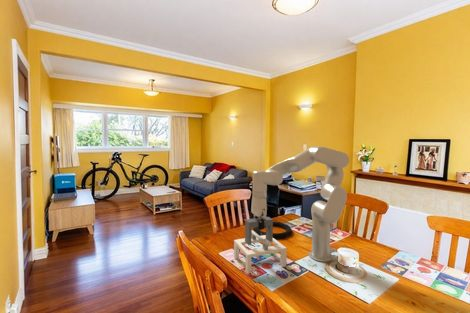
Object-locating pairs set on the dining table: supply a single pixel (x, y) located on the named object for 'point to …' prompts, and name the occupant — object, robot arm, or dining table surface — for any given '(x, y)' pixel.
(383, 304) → the dining table surface
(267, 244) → the cream frame with rod
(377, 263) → the dining table surface
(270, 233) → the grey piece
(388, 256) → the dining table surface
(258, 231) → the cable lock
